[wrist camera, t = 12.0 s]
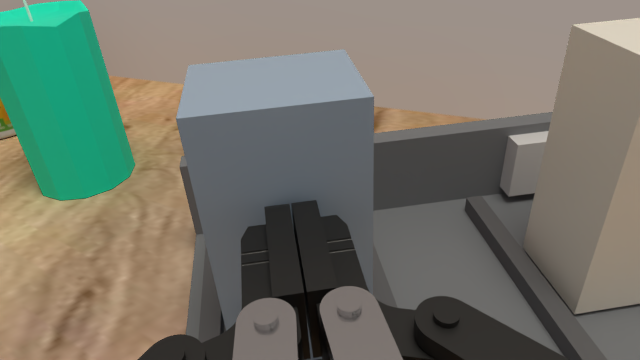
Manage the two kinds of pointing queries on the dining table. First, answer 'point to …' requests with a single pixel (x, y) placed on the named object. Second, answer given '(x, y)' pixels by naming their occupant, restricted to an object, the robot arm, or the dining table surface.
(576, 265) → the ivory key
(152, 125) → the dining table surface
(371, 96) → the slate blue key
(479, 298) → the tray
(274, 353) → the robot arm
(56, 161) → the candle
